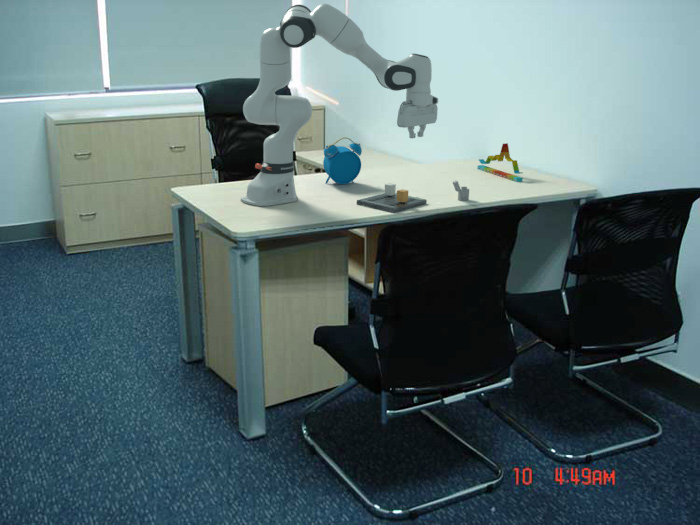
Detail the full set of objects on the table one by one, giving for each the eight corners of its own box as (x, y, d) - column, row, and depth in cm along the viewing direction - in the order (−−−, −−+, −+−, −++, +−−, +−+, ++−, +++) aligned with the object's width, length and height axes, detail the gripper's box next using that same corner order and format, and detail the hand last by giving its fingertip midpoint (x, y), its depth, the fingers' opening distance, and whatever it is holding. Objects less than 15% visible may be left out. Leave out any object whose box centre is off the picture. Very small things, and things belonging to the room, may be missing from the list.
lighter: (466, 198, 297) (467, 179, 295) (468, 199, 296) (470, 179, 293) (451, 200, 294) (452, 180, 292) (453, 201, 293) (455, 181, 290)
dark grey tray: (393, 212, 274) (394, 208, 274) (356, 204, 286) (356, 200, 285) (426, 203, 289) (426, 199, 288) (389, 195, 300) (389, 191, 299)
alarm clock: (353, 179, 327) (354, 133, 320) (364, 184, 318) (365, 137, 312) (317, 182, 320) (318, 135, 313) (327, 187, 311) (328, 139, 305)
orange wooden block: (403, 202, 281) (403, 191, 280) (396, 201, 283) (397, 190, 282) (407, 201, 284) (408, 190, 282) (401, 199, 285) (402, 189, 284)
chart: (476, 169, 355) (479, 137, 350) (482, 169, 356) (485, 137, 352) (516, 182, 329) (519, 148, 324) (522, 182, 330) (525, 148, 326)
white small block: (390, 195, 291) (390, 185, 290) (384, 194, 293) (384, 184, 292) (395, 194, 293) (395, 184, 292) (389, 193, 295) (389, 183, 294)
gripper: (407, 102, 267) (405, 141, 272) (441, 98, 282) (438, 135, 286) (393, 100, 271) (392, 139, 276) (427, 97, 286) (425, 133, 290)
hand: (416, 137), depth 281 cm, fingers open, 3 cm apart
